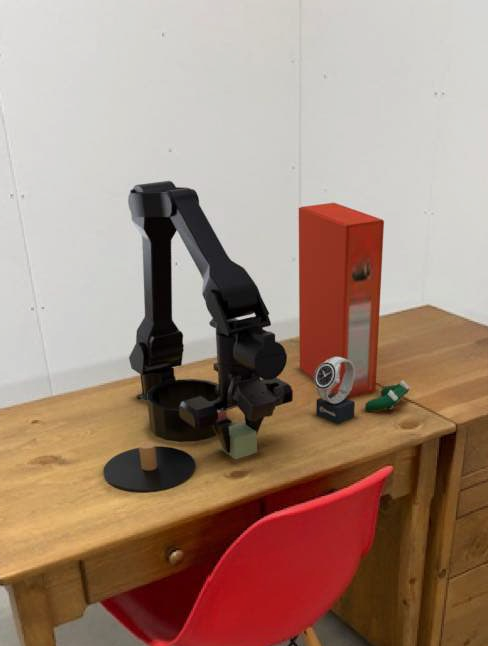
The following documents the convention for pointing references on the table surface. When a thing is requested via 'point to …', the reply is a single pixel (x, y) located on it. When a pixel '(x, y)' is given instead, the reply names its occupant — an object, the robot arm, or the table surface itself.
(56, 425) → the table surface
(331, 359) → the watch
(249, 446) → the block
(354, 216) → the file binder
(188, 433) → the pot
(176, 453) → the lid
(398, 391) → the green toy shoe
